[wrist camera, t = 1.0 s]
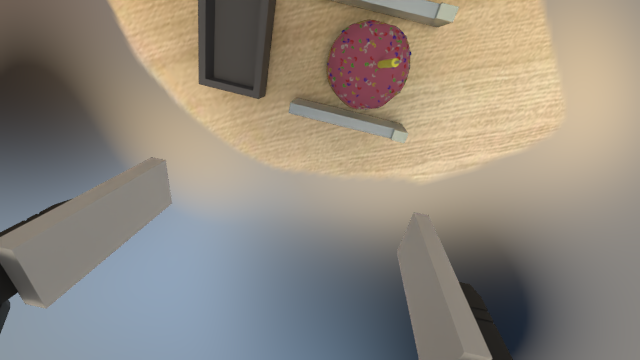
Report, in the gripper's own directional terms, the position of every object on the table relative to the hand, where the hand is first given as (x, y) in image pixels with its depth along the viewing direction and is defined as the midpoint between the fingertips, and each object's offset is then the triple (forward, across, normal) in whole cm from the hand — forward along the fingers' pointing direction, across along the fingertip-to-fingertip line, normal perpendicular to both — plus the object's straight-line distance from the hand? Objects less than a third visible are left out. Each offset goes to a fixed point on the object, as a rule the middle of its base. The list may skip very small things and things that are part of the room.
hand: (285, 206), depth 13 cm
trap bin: (+22, -12, +7) cm, 26 cm away
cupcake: (+23, +4, +6) cm, 24 cm away
